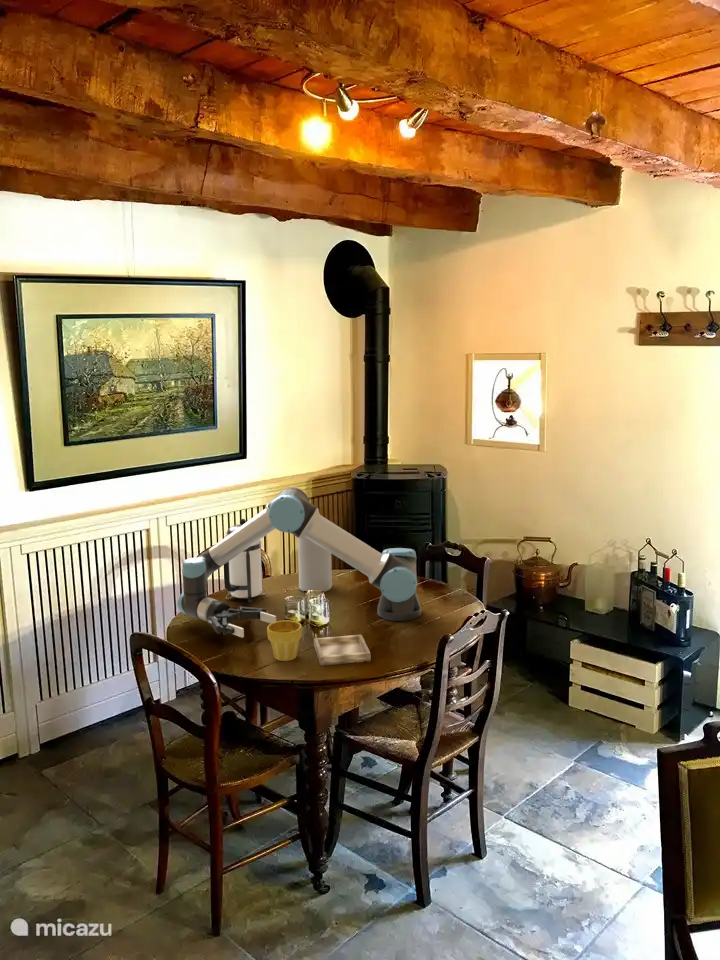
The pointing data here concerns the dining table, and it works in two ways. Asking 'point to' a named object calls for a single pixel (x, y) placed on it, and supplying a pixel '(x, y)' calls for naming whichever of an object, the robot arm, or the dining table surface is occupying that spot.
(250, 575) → the coffee press
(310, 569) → the cylinder vase
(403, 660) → the dining table surface
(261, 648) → the dining table surface
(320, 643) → the birch tray
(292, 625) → the plant pot
